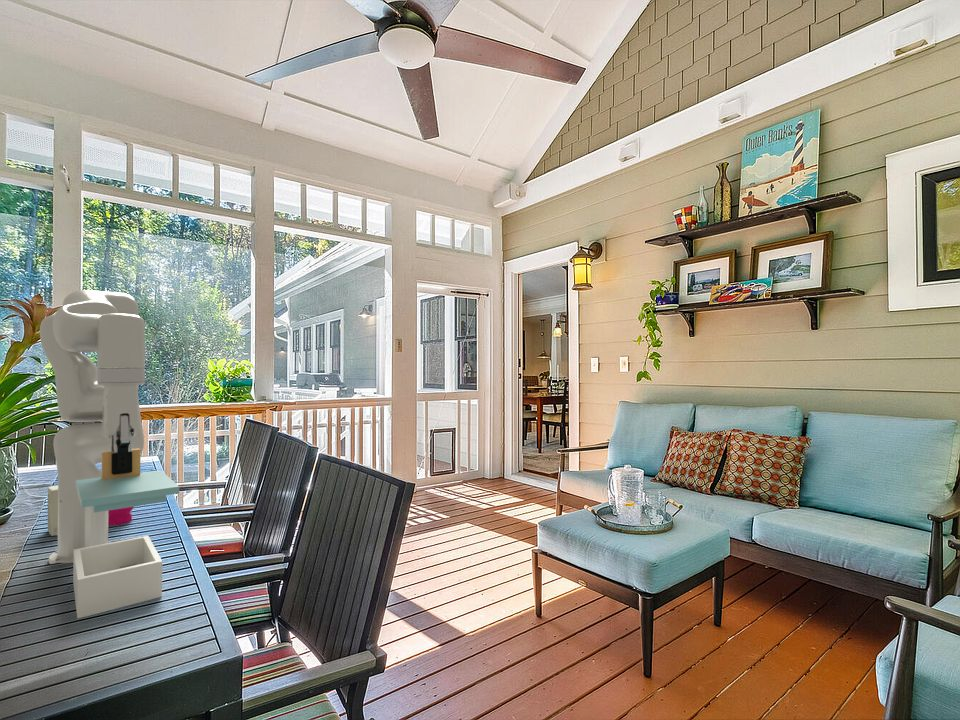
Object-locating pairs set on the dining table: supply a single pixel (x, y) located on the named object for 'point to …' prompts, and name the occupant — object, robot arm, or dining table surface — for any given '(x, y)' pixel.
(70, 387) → the robot arm
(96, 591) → the tub
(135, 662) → the dining table surface
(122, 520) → the pepper mill
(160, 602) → the dining table surface
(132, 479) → the lid
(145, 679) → the dining table surface
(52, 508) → the skincare box
